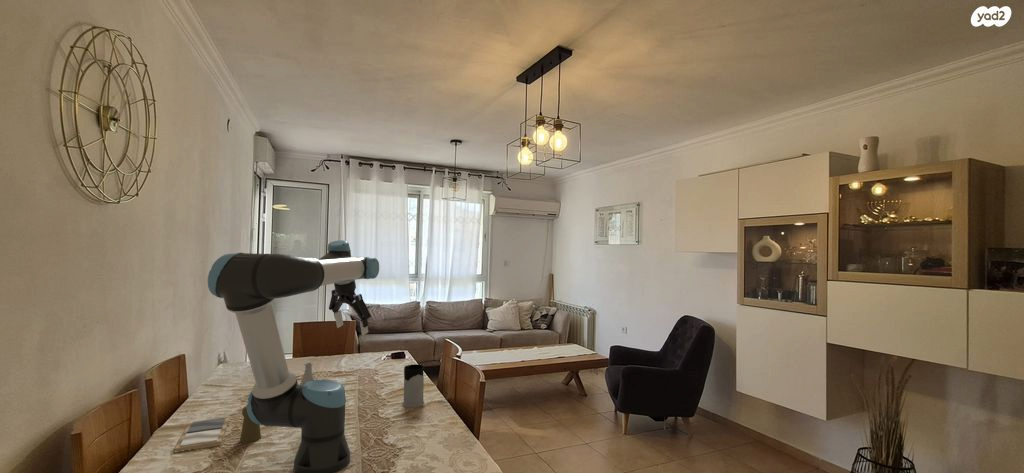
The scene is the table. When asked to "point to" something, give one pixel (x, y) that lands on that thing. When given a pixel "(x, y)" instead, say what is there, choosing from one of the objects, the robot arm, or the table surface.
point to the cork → (249, 429)
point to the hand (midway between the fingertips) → (352, 329)
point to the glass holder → (413, 386)
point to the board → (203, 434)
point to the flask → (307, 374)
